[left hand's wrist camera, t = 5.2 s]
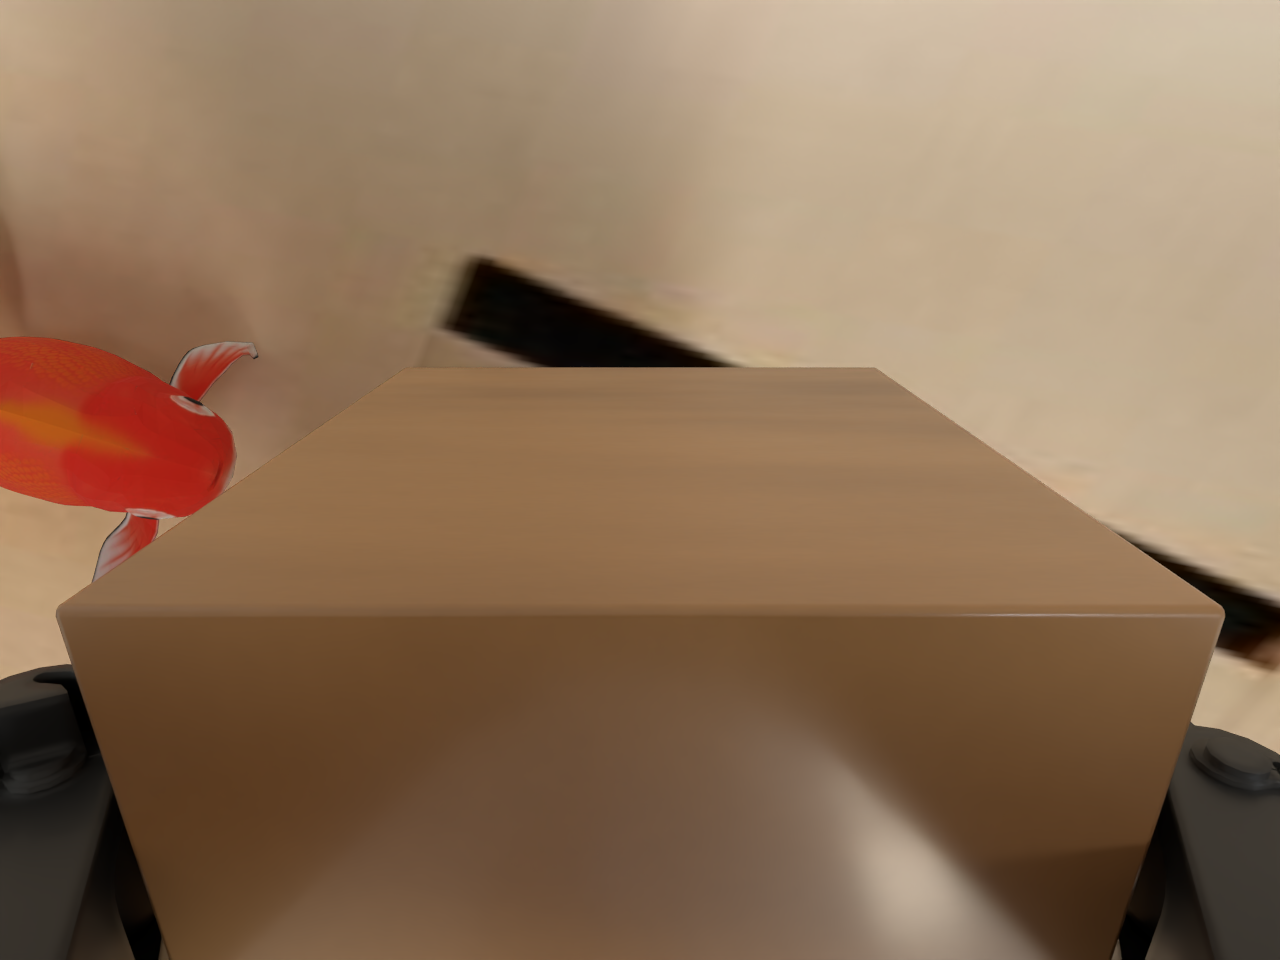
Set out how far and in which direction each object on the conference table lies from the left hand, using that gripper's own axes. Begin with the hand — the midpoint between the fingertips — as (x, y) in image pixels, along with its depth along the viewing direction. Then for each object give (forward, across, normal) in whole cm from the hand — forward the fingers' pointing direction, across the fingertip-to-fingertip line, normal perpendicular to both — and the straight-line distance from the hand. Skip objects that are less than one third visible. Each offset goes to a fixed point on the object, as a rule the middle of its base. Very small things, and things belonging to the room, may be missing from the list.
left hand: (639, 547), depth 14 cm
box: (0, 0, -10) cm, 11 cm away
